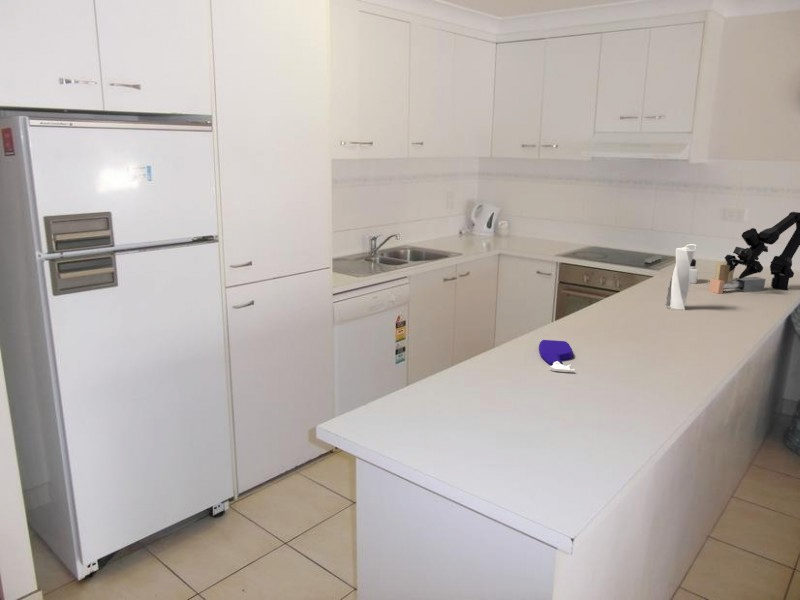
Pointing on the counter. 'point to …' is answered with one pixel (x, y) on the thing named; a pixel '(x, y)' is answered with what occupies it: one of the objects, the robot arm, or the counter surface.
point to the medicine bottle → (693, 272)
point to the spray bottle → (556, 354)
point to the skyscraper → (680, 279)
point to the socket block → (716, 286)
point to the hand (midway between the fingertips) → (731, 276)
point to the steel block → (752, 284)
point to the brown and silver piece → (724, 277)
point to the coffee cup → (719, 262)
